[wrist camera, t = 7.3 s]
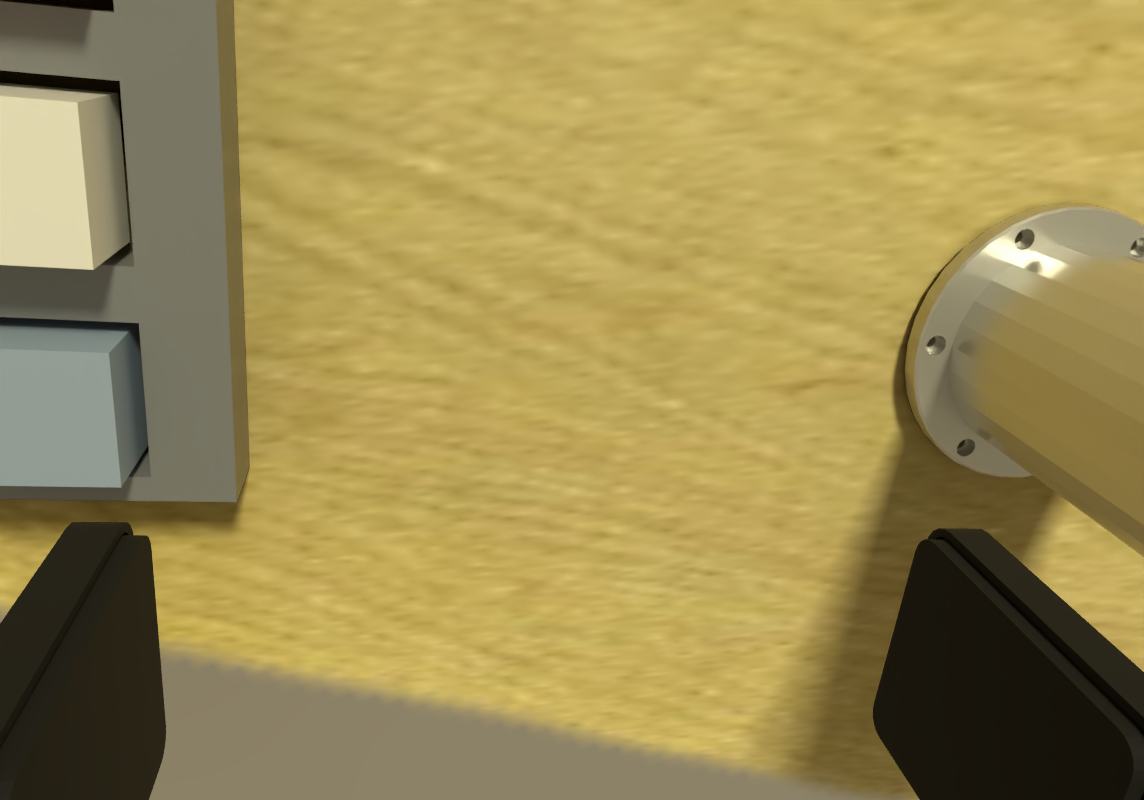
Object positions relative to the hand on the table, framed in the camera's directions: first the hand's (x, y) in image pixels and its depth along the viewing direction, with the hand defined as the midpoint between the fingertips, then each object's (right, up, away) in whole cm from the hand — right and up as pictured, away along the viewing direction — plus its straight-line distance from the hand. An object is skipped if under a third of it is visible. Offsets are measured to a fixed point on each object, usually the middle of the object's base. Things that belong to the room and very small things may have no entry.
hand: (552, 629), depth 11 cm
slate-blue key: (-18, +4, +23) cm, 30 cm away
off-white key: (-18, +11, +20) cm, 28 cm away
